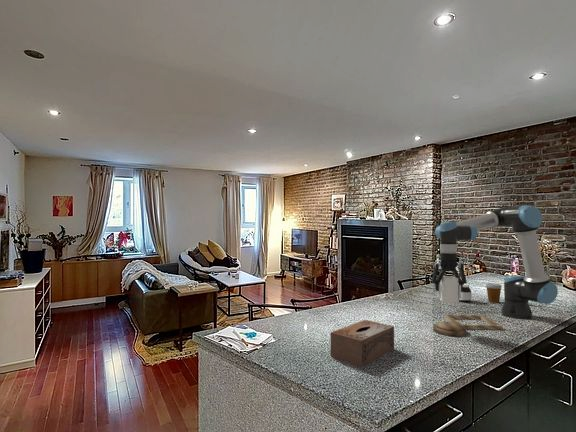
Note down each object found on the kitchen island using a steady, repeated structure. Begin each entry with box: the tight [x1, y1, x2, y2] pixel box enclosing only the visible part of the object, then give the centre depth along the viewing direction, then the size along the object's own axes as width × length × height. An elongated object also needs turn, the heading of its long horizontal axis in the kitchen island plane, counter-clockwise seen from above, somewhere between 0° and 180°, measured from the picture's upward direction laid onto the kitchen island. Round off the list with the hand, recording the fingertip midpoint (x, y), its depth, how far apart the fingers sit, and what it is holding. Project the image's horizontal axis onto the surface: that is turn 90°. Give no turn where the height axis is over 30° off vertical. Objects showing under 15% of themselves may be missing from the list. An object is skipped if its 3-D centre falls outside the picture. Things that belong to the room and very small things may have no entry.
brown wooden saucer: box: [432, 321, 467, 337], centre depth 171 cm, size 15×15×3 cm
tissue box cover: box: [330, 319, 395, 368], centre depth 144 cm, size 26×14×10 cm, turn 135°
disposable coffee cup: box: [485, 282, 503, 304], centre depth 235 cm, size 10×10×12 cm
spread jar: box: [458, 283, 472, 303], centre depth 238 cm, size 12×11×12 cm
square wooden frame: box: [444, 314, 503, 331], centre depth 185 cm, size 20×20×2 cm
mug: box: [439, 275, 459, 304], centre depth 172 cm, size 12×8×12 cm
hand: (449, 297), depth 172 cm, fingers closed on mug, 9 cm apart
